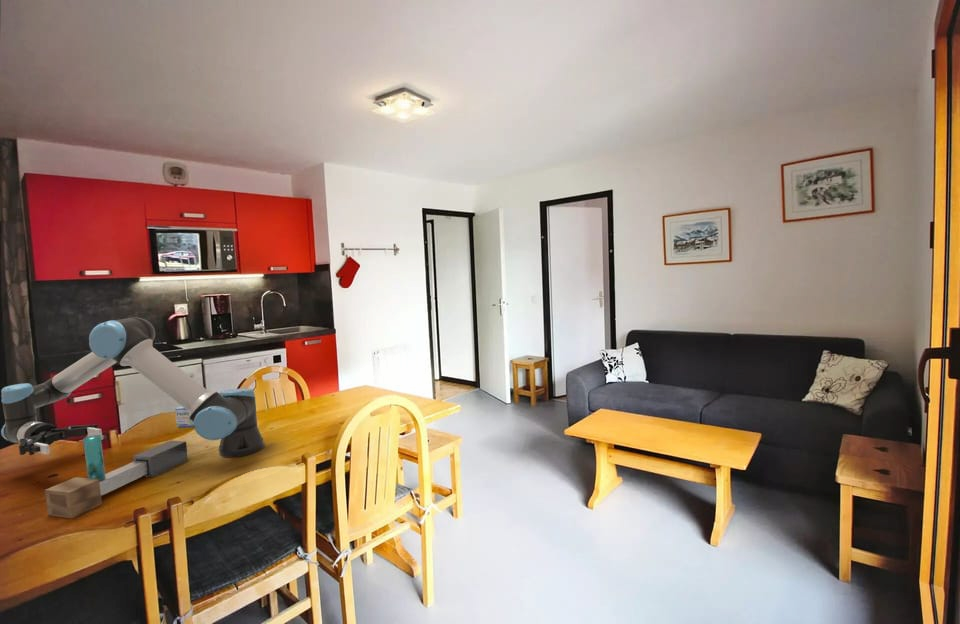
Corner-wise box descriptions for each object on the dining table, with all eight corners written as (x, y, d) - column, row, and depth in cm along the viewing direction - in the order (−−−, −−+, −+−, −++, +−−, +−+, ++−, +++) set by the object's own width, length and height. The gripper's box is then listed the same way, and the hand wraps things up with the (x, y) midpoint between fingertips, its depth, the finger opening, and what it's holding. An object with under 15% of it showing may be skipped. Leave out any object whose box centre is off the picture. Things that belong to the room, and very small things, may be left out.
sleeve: (172, 459, 169) (170, 440, 168) (187, 460, 167) (186, 441, 167) (135, 476, 156) (133, 456, 155) (152, 477, 154) (149, 457, 153)
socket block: (78, 501, 139) (75, 477, 139) (101, 504, 137) (98, 479, 137) (48, 515, 132) (44, 489, 131) (72, 518, 130) (69, 492, 129)
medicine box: (176, 428, 203) (174, 408, 202) (181, 424, 208) (179, 405, 207) (196, 426, 205) (194, 407, 204) (200, 423, 209) (198, 404, 208)
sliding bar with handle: (142, 470, 157) (137, 419, 155) (153, 471, 156) (147, 419, 154) (67, 505, 134) (59, 445, 133) (79, 506, 133) (71, 446, 132)
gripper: (84, 432, 164) (121, 438, 156) (-12, 460, 141) (25, 470, 133) (81, 411, 163) (118, 416, 155) (-16, 436, 141) (21, 444, 132)
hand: (75, 441), depth 144 cm, fingers open, 13 cm apart
